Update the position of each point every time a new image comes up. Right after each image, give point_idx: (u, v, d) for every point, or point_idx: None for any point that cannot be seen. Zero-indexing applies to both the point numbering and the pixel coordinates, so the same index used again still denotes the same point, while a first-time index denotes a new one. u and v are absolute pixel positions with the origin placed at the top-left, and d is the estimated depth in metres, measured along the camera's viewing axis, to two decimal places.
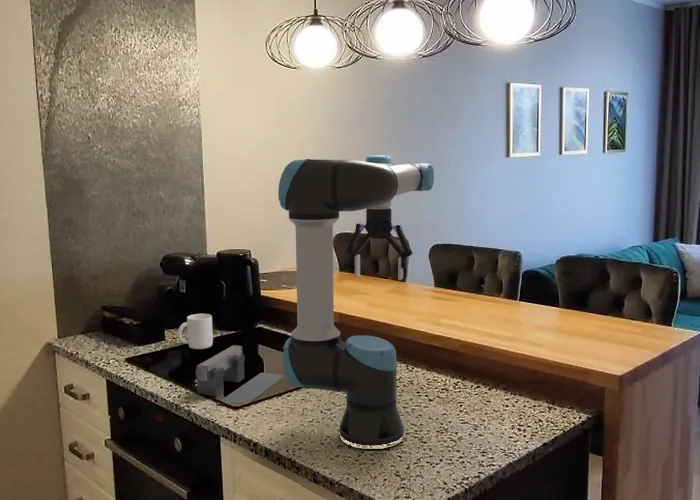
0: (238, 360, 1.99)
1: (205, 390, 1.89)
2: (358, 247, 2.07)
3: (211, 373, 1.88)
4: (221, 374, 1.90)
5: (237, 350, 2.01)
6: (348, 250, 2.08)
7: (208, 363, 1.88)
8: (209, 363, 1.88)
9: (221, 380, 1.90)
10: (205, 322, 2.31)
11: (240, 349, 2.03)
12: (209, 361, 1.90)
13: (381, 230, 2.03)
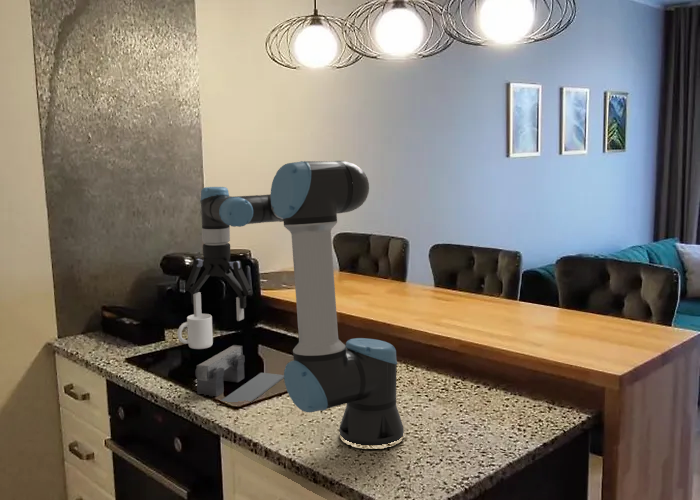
0: (238, 360, 1.99)
1: (205, 390, 1.89)
2: (197, 285, 1.93)
3: (211, 373, 1.88)
4: (221, 374, 1.90)
5: (237, 350, 2.01)
6: (187, 288, 1.94)
7: (208, 363, 1.88)
8: (209, 363, 1.88)
9: (221, 380, 1.90)
10: (205, 322, 2.31)
11: (240, 349, 2.03)
12: (209, 361, 1.90)
13: (218, 267, 1.89)
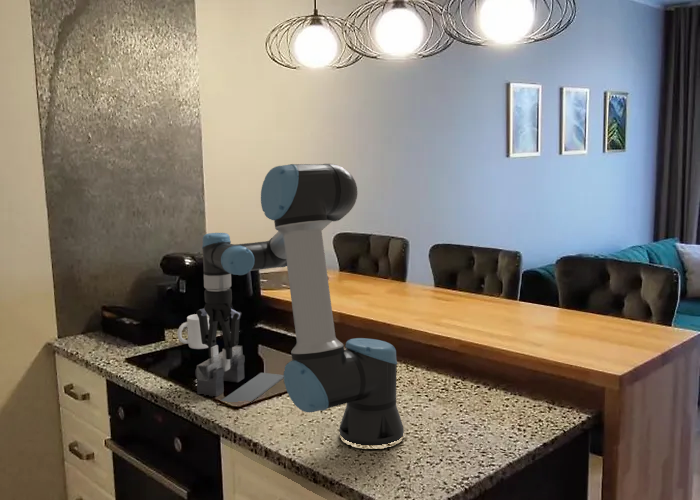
0: (238, 360, 1.99)
1: (205, 390, 1.89)
2: (210, 336, 1.94)
3: (211, 373, 1.88)
4: (221, 374, 1.90)
5: (237, 350, 2.01)
6: (203, 341, 1.95)
7: (208, 363, 1.88)
8: (209, 363, 1.88)
9: (221, 380, 1.90)
10: None
11: (240, 349, 2.03)
12: (209, 361, 1.90)
13: (219, 313, 1.91)
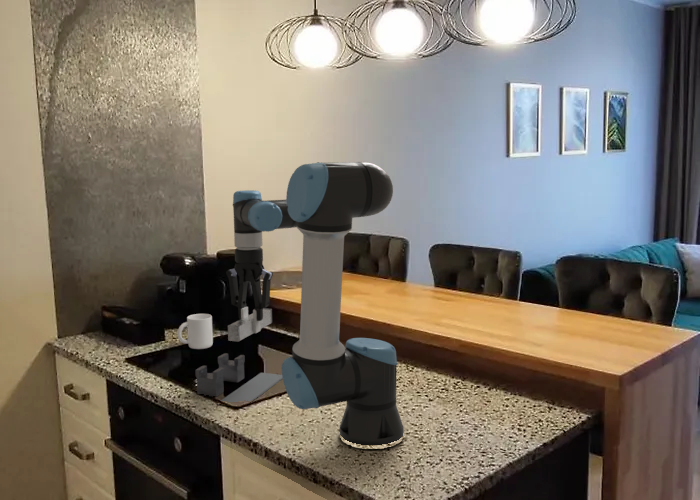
0: (238, 360, 1.99)
1: (205, 390, 1.89)
2: (240, 297, 1.89)
3: (242, 334, 1.83)
4: (221, 374, 1.90)
5: (267, 313, 1.96)
6: (233, 302, 1.90)
7: (239, 324, 1.83)
8: (240, 323, 1.83)
9: (221, 380, 1.90)
10: (205, 322, 2.31)
11: (270, 312, 1.98)
12: (240, 321, 1.85)
13: (250, 273, 1.86)
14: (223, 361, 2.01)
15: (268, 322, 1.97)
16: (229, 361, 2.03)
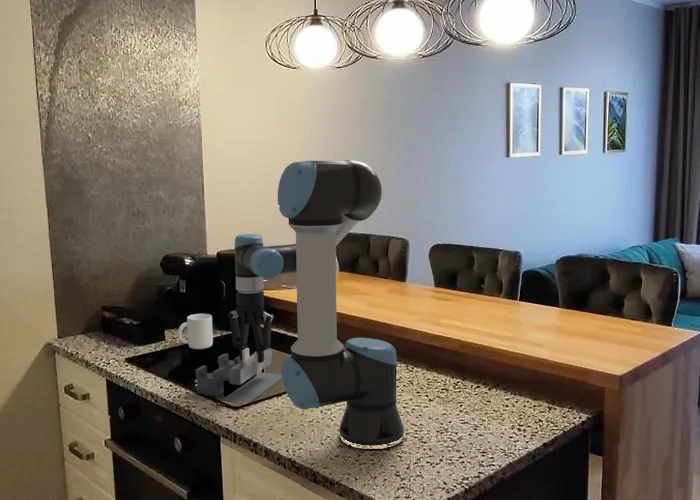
0: (238, 360, 1.99)
1: (205, 390, 1.89)
2: (241, 339, 1.91)
3: (244, 377, 1.85)
4: (221, 374, 1.90)
5: (268, 353, 1.98)
6: (235, 343, 1.92)
7: (241, 367, 1.85)
8: (241, 366, 1.85)
9: (221, 380, 1.90)
10: (205, 322, 2.31)
11: (271, 352, 2.00)
12: (241, 364, 1.87)
13: (251, 316, 1.88)
14: (223, 361, 2.01)
15: (269, 362, 1.99)
16: (229, 361, 2.03)
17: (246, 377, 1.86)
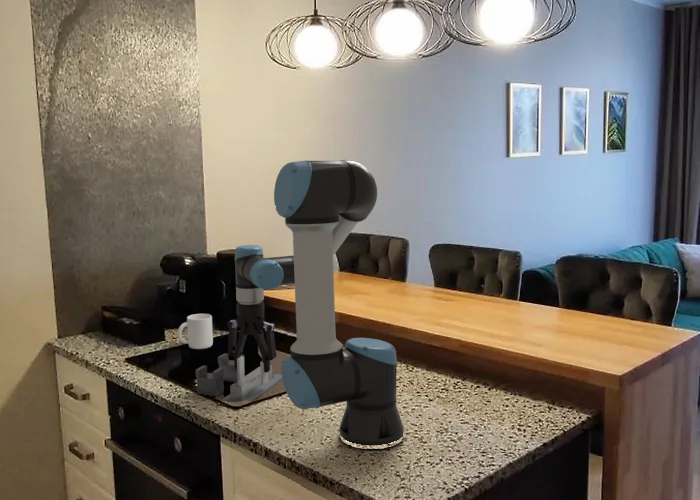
0: None
1: (205, 390, 1.89)
2: (238, 348, 1.91)
3: (244, 393, 1.85)
4: (221, 374, 1.90)
5: None
6: (230, 352, 1.92)
7: (241, 384, 1.85)
8: (242, 383, 1.86)
9: (221, 380, 1.90)
10: (205, 322, 2.31)
11: (271, 367, 2.00)
12: (242, 380, 1.88)
13: (252, 326, 1.88)
14: (223, 361, 2.01)
15: (270, 378, 2.00)
16: (229, 361, 2.03)
17: (247, 394, 1.87)
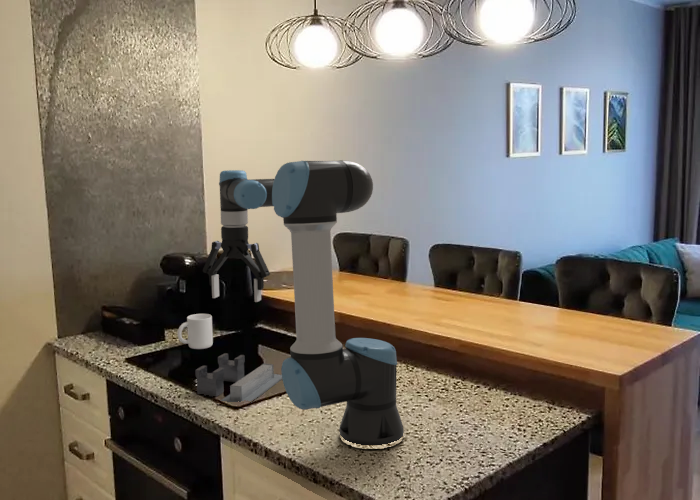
0: (238, 360, 1.99)
1: (205, 390, 1.89)
2: (215, 267, 1.97)
3: (244, 393, 1.85)
4: (221, 374, 1.90)
5: (269, 369, 1.99)
6: (205, 269, 1.98)
7: (241, 384, 1.85)
8: (242, 383, 1.86)
9: (221, 380, 1.90)
10: (205, 322, 2.31)
11: (271, 367, 2.00)
12: (242, 380, 1.88)
13: (236, 249, 1.93)
14: (223, 361, 2.01)
15: (270, 378, 2.00)
16: (229, 361, 2.03)
17: (247, 394, 1.87)
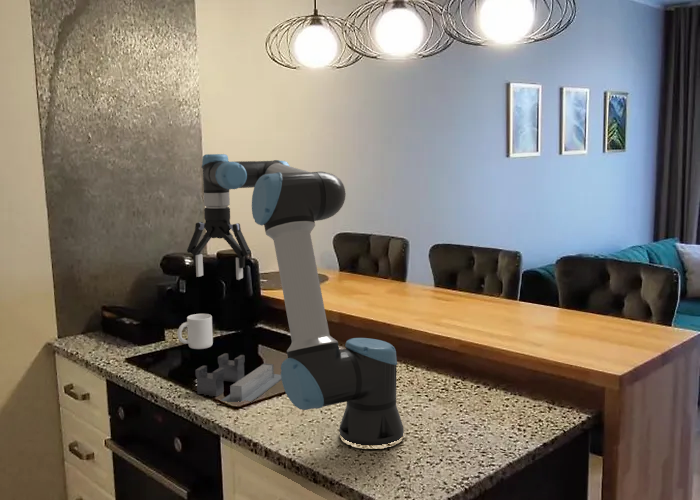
0: (238, 360, 1.99)
1: (205, 390, 1.89)
2: (199, 246, 2.06)
3: (244, 393, 1.85)
4: (221, 374, 1.90)
5: (269, 369, 1.99)
6: (189, 249, 2.07)
7: (241, 384, 1.85)
8: (242, 383, 1.86)
9: (221, 380, 1.90)
10: (205, 322, 2.31)
11: (271, 367, 2.00)
12: (242, 380, 1.88)
13: (218, 229, 2.02)
14: (223, 361, 2.01)
15: (270, 378, 2.00)
16: (229, 361, 2.03)
17: (247, 394, 1.87)
